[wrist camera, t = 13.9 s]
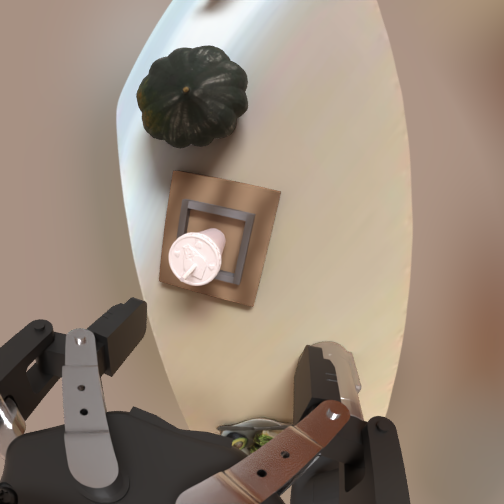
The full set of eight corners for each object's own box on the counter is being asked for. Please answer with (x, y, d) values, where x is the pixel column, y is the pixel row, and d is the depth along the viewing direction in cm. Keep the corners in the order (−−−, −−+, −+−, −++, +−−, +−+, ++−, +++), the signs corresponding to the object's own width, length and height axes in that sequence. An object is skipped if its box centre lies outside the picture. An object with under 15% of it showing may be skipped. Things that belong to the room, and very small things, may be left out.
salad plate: (277, 400, 52) (276, 416, 48) (317, 438, 55) (318, 452, 50) (209, 424, 57) (205, 438, 53) (253, 457, 60) (251, 470, 56)
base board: (281, 191, 40) (280, 193, 37) (254, 301, 45) (252, 311, 42) (178, 170, 41) (169, 170, 37) (163, 276, 46) (155, 284, 43)
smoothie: (203, 266, 43) (169, 309, 29) (186, 228, 41) (142, 256, 28) (241, 252, 41) (220, 292, 28) (224, 212, 40) (193, 234, 26)
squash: (134, 60, 31) (101, 100, 23) (230, 24, 29) (236, 45, 21) (169, 128, 43) (157, 185, 35) (254, 101, 41) (269, 152, 32)
